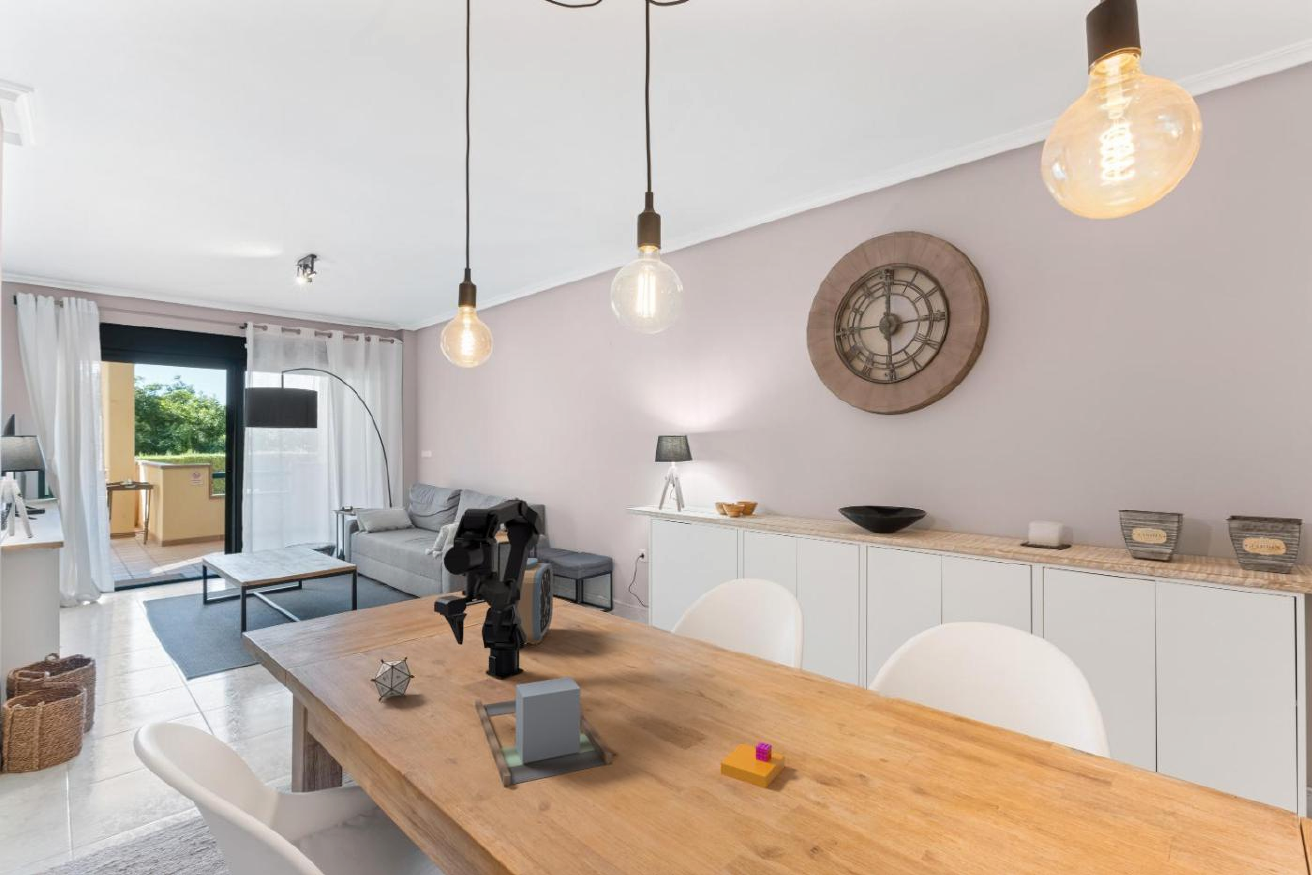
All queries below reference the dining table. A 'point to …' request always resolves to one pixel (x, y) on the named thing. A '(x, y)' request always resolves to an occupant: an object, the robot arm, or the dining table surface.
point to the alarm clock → (536, 600)
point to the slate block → (547, 719)
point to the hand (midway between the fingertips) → (478, 639)
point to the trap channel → (519, 772)
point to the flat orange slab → (753, 764)
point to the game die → (392, 678)
